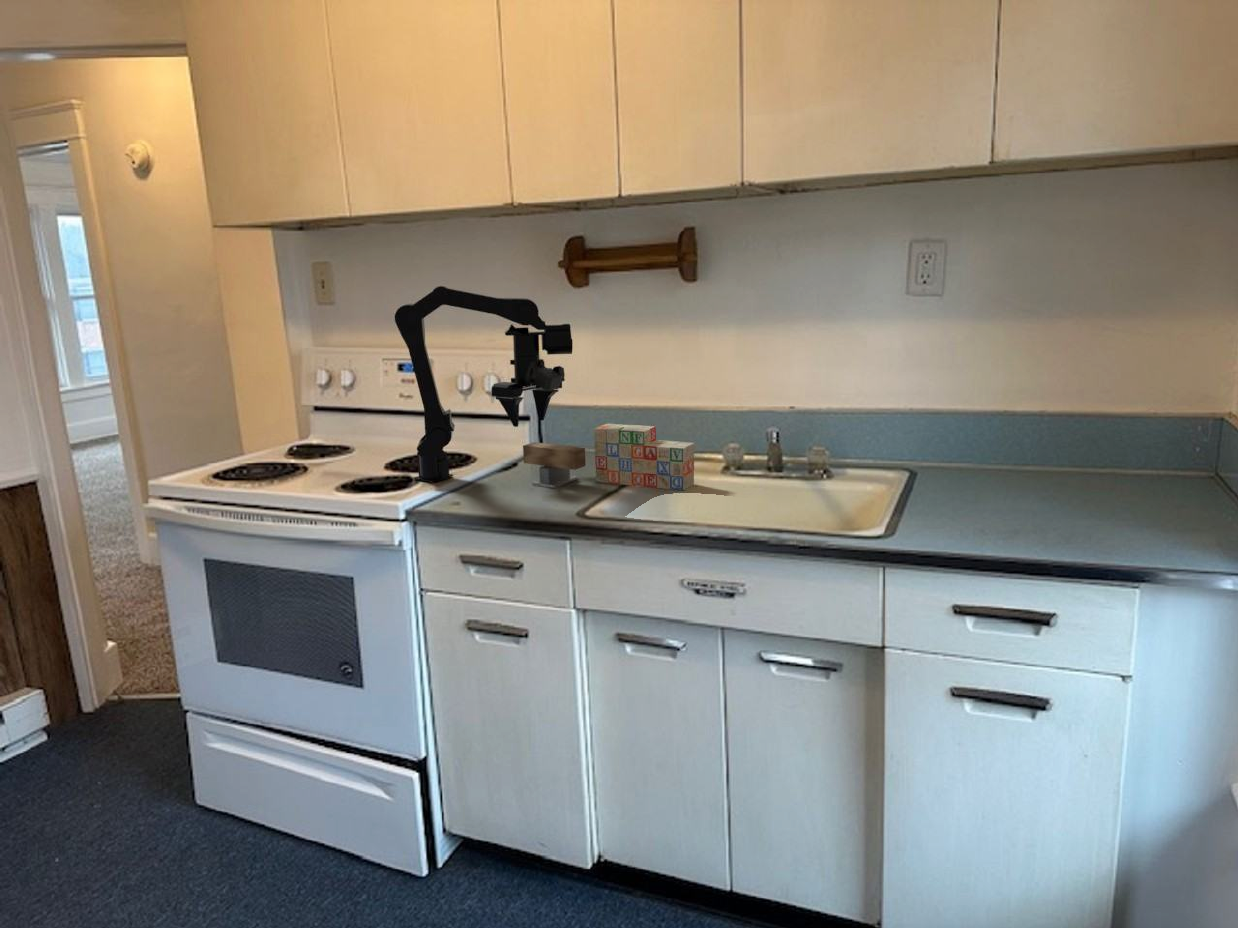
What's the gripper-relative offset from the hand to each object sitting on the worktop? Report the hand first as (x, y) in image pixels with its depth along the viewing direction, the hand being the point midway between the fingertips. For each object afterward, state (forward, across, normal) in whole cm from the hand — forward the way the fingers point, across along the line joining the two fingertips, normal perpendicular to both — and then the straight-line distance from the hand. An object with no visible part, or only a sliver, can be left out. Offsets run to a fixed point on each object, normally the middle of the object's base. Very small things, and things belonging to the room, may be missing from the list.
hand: (528, 423), depth 199 cm
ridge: (+12, -4, -10) cm, 16 cm away
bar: (+8, -4, -10) cm, 13 cm away
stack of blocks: (+12, +5, -28) cm, 31 cm away
